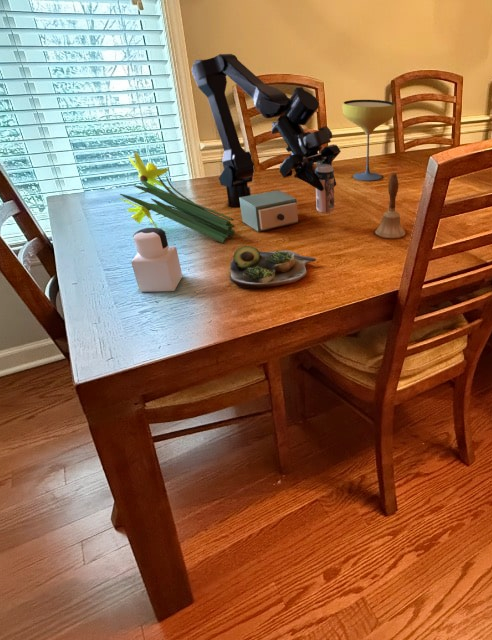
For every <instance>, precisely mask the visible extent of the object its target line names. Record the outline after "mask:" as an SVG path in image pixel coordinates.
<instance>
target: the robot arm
mask: <svg viewBox="0 0 492 640" xmlns="http://www.w3.org/2000/svg"><path fill="white" fill-rule="evenodd" d="M191 74H192V76H193V79H194V81H195V83H196V85H197V88H198V89H199V90H200V91H201V92H202V93H203V94H204V96H206V98H207V101H208V104H209V107H210V110H211V113H212V117H213V119H214V124H215V126H216V129H217V133H218V135H219V138H220V141H221V144H222V148H223V150H224V151H223V155H222V163H221V164H222V167H223V170H222V172H221V173H220V175H219V176H218V181H219V183H220V185H221V186H222V187H225V189H226V196H227V207H240V199H239V197H244V196H250V195H252V193H251V191H252V190H251V187H250V186H249V183H252V182H253V178H254V173H255V163H254V161H253V158H252V153H251V152H250V151H246V150H245V149H244V148H243V147H242V145H241V141H240V139H239V135H238V132H237V129H236V125H235V123H234V119H233V116H232V112H231V109H230V106H229V102H228V99H227V96H226V89H227V85H228V81H227V77H228V78H229V79H230V80H231V81H233V82H234V84H236V85H237V86H238V87H239V88H240V89H241V90H242V91H244V92H245V93H246V94H247V95H248V96H249V97H250V98H251V99H252V100H253V104H254V108H256V110H257V111H258V112H259V113H260V114H261V116H262V117H263V118H265V119H273V118H278V119H277V120H276V121H273V122H271V125H272V126H271V131H270V132H271V134H272V135H274V134H279V135H280V136H281V138H282V139H283V141H284V142H285V143H286V145H287V147H286V148H285V150H286V151H287V153H290V152H291V154H292V153H293V154H294V155H291V154H290V155H287V156H286V157H285V159H284V160H283V161H282V163H281V164H280V166H279V173H280V174H281V176H282V177H283V179H286V178H289V177H290V178H291V177H292V176H293V178H294V179H296V178H297V179H299V180H301V181H303V182H305V183H307V184H308V185H310V186H311V187H313V188H314V189H316V188H317V189H318V190H320V191H323V190H324V187H323V185H322V183H321V182H320V180H319V178H318V177H317V175H316V173H315V169H314V165H313V163H314V164H316V166H317V165H319V164H330V165H332V166H333V161H334V160H335V159H336V158H337V157H338V156H339V155H340V153H341V152H342V151H341V148H339V146H338V145H337V144H329V143H332V141H331V139H332V138H333V132H332V131H331V130H330V128H329V127H328V126H327V125H325V126H322V127H320V128H318V130H316V131H313V132H310V131H305V130H304V128H303V126H305V125H307V124H308V122H309V121H310V120H311V118H312V117H313V116H314V114H316V112H317V110H318V109H319V107H320V105H319V101H318V99H317V97H316V96H314V95H313V94H311V93H310V92H309V91H307V90H305V89H304V88H303V87H302V86H299V87H295V88H294V90H293V93H292V95H291V96H290V97H288V95H287V94H286V93H285V92H283V91H281V90H280V89H278V88H277V87H274V86H271V85H268V84H267V83H265V82H263V80H261V79H260V78H259V77H258V76H257V75H256V74H254V73H253V72H252V71H251V70H250V69H249V68H248V67H247V66H246V65H244V64H243V63H242V62H241V61H240V60H239V59H238V57H237V56H236V55H235V54H233V53H219V54H218V55H215V56H213V57H210V58H206V59H195V60H194V62H193V64H192V66H191ZM325 144H329V145H325ZM323 145H325V146H324V147H322V146H323ZM319 151H320V152H319ZM293 170H294V172H295V174H294V175H293ZM336 186H337V180H336V177H335V176H334V188H335V187H336Z"/></svg>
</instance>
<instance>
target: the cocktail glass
mask: <svg viewBox="0 0 492 640" xmlns="http://www.w3.org/2000/svg"><path fill="white" fill-rule="evenodd" d="M395 111H396V104H395V103H394V102H393V101H389V100H380V99H351V100H345V101H344V102H343V103H342V114H343V116H344V117H345V118H346V119H347V120H348V121H349V122H351V123H352V124H355V125H356V126H358V127H360V129H362V130H363V132H364V133H365V135H367V139H366V141H367V142H366V143H367V144H366V165H365V166H366V167H365V171H364V172H363V171H362V172H358V173H357V172H356V173H354V174H353V175H352V178H353V179H354V180H357V181H361V182H375V181H379V180H381V179H383V175H382V174H379V173H376V172H371V171H370V135H372V134H373V132H374V131H375V129H376V128H378V127H380V126H383V124H385V123H388V122H389V121H390V120H391V119H393V117H394V116H395V113H396V112H395Z"/></svg>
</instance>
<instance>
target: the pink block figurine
mask: <svg viewBox="0 0 492 640" xmlns="http://www.w3.org/2000/svg"><path fill="white" fill-rule="evenodd" d="M132 238H133V242H134V245H135V250H136V255H135V256H134V257H133V259H132V260H131V262H130V263H131V267H132V269H133V273H134V276H135V281H136V283H137V287H138V290H139V292H140V293H146V292H148V293H149V292H174V291H176V288H177V286H179V283H180V281H181V279H182V278H183V272H182V268H181V262H180V258H179V254H178V249H177V247H176V246H169V242H168V238H167V234H166V230H164V229H162V228H159V227H158V228H156V227H144V228H141V229H139V230H137V231H135V232H134V234H133V235H132Z"/></svg>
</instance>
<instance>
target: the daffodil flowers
mask: <svg viewBox="0 0 492 640" xmlns="http://www.w3.org/2000/svg"><path fill="white" fill-rule="evenodd" d="M127 158H128V160H129V162H130V163H131V165H132V167H134V168H135V170H137V171H138V177H137V178H138V180H139V182H140V183H141V184H142V186H141V185H133V187H135V188H136V189H139V190H140V191H142V192H139V193H137V194H136V196H138V195H143V194H146V193H148V194H150V195H153V196H155V197H156V198H158V199H159V201H158V200H157V199H154V198H150V200H151V201H152V202H153V203H150V202H147V201H144V200H142V199H139V198H136V197H133V196H130V195H127V194H123V193H119V195H120V196H121V197H123V198H118V197H117V199H118V200H120V201H123V202H124V203H128V204H130V205H132V206H133V207H129V208H128V209H126V212H129V213H134V214H132V215H131V216H130V218H131V219H133V220H134V221H136V223H138V224H139V225H140V224H142V223H141V222H142V221H143V219H144V218H145V216H146V217H147V218H148V219H149V222H150V223H151V224H153V225H154V228H159V227H158V226H157V224H156V223H155V221H153V218H152V214H151V212H150V211H152V212H154V213H156V214H155V216H160V215H161V217H159V218H158V219H159V220H160V219H163V218H164V219H165V218H167V219H169V220H172V221H174V222H176V223H178V224H180V225H182V226H184V227H187V228H188V229H191V230H193V231H195V232H197V233H199V234H202V235H204V236H206V237H208V238H210V239H212V240H215V241H217V242H218V243H221V244H224V243H225V242H226V240H227V238H231V239H232V237H233V235H234V234H235V232H236V230H235V229H233V228H235V227H236V226H235V224H233V223H231V221H234V220H235V219H234V218H232V217H230V216H227V215H225V214H222V213H220V212H218V211H215V210H213V209H210V208H209V207H206V206H203V205H200V204H198V203H195V202H194V201H192V200H191V199H189V198H188V197H187V196H185V195H184V194H182V193H181V192H180V191H178V190H177V189H176V188H175V187H174V186H173V185H172V183H171V182H170V179H169V178H168V176H167V174H166V173H167V172H169V170H170V169H169V168H161V169H160V168H159V169H158V167H157V165H155V163H153V162H147V164H146V165H145V163H144V162H143V160H142V157H140V155H139V153H138V151H136V150H135V152H134V160H133V158H131V157H130V156H128V155H127ZM164 174H165V179H166V181H167V183H168V185H169V186H167V185H166V183H165V182H164V181H163V180H162V178H161V177H160V176H162V175H164ZM157 178H158V179H157ZM156 185H157V186H159V187H157V186H156ZM160 187H164V189H165V190H167V191H165V190H164V189H161V188H160ZM172 190H173V191H172ZM160 200H161V201H163V202H164V203H163V202H161V201H160ZM165 203H166V204H165Z"/></svg>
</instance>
